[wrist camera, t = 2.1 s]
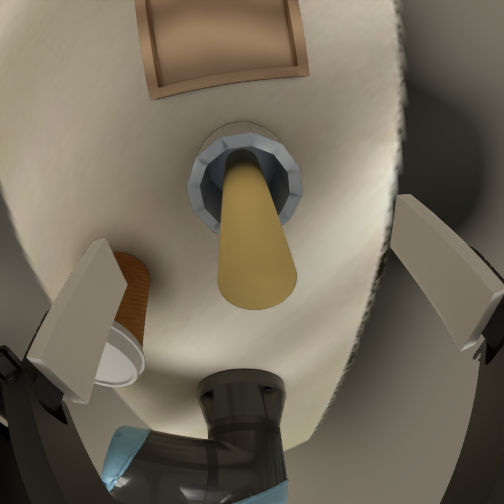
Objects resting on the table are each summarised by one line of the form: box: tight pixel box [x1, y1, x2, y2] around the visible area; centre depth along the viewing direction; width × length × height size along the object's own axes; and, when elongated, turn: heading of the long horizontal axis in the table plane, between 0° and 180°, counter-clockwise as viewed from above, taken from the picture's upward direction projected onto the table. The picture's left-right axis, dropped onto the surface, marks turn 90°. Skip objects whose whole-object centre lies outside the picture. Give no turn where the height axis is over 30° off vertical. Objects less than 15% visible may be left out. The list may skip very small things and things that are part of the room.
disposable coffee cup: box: [94, 253, 150, 387], centre depth 24 cm, size 10×10×12 cm
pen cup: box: [187, 122, 302, 234], centre depth 20 cm, size 7×7×7 cm
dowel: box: [218, 149, 297, 310], centre depth 16 cm, size 3×3×15 cm
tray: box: [135, 0, 310, 100], centre depth 14 cm, size 14×12×2 cm
